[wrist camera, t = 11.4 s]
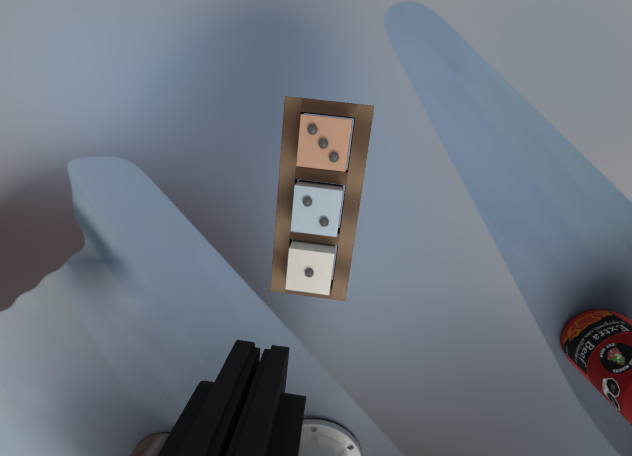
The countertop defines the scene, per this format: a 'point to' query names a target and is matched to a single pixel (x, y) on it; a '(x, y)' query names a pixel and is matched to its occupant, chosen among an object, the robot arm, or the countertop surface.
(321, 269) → the tile one pip
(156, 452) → the plant pot
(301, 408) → the robot arm
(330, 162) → the tile three pip
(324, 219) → the tile two pip
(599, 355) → the canned food
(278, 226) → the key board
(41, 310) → the countertop surface
